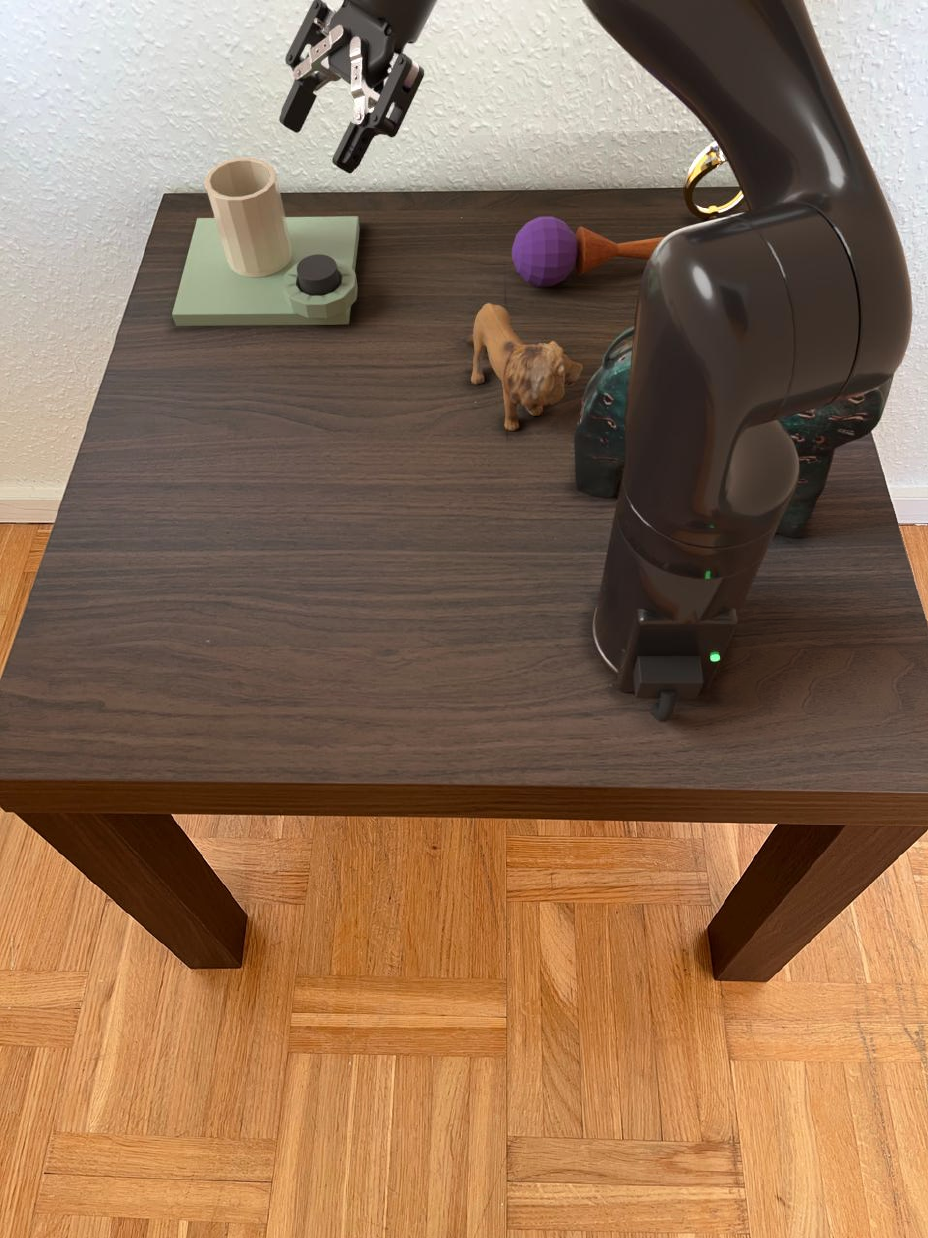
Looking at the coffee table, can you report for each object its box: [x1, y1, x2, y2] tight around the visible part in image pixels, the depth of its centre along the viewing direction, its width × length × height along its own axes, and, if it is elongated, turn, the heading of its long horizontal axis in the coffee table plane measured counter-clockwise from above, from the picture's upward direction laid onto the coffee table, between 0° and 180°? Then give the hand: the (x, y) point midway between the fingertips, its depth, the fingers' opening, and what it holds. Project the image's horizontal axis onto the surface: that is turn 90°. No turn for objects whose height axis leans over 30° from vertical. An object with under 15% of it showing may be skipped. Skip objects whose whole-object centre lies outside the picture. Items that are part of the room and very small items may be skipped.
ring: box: [682, 140, 746, 221], centre depth 87 cm, size 7×3×8 cm, turn 97°
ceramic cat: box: [573, 325, 895, 539], centre depth 63 cm, size 20×6×20 cm, turn 73°
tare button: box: [297, 254, 339, 296], centre depth 82 cm, size 4×4×2 cm
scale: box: [171, 215, 361, 327], centre depth 86 cm, size 15×17×3 cm
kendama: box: [511, 216, 666, 288], centre depth 84 cm, size 6×6×20 cm
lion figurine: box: [460, 302, 584, 432], centre depth 75 cm, size 15×5×9 cm, turn 33°
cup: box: [204, 157, 292, 277], centre depth 83 cm, size 6×6×8 cm
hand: (313, 147), depth 83 cm, fingers open, 8 cm apart
